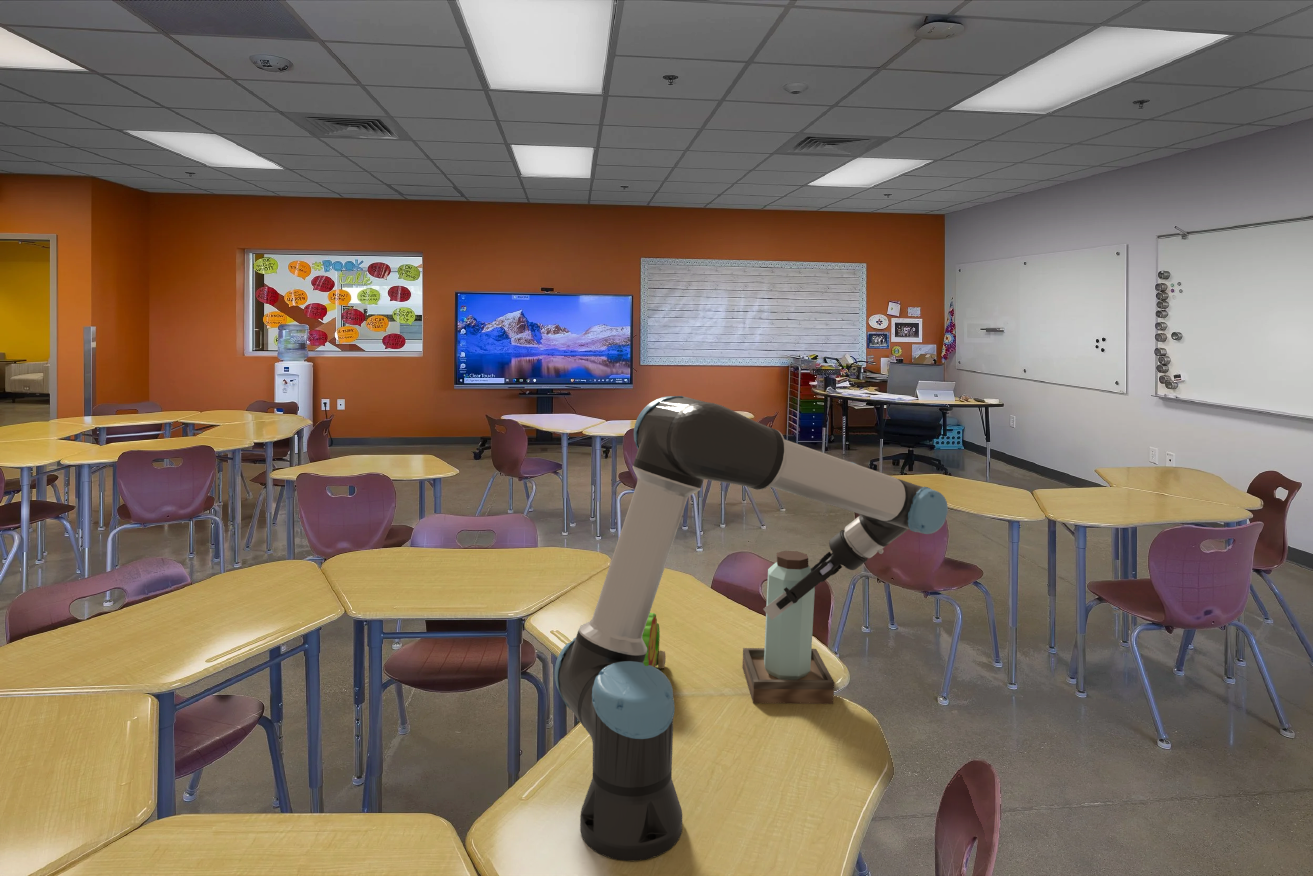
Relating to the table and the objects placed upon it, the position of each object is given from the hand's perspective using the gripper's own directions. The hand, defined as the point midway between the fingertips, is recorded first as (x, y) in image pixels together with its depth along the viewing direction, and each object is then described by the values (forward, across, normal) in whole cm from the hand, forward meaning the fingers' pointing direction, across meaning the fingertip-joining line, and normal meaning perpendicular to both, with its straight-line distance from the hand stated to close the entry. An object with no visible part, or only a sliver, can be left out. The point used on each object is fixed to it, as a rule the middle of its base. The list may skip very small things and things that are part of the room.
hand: (778, 603), depth 159 cm
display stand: (+11, 0, -14) cm, 17 cm away
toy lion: (+29, -12, +4) cm, 32 cm away
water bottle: (+9, 0, -12) cm, 15 cm away
